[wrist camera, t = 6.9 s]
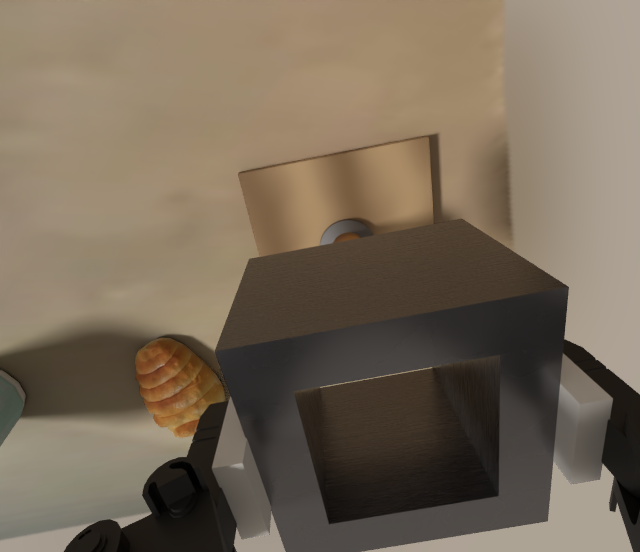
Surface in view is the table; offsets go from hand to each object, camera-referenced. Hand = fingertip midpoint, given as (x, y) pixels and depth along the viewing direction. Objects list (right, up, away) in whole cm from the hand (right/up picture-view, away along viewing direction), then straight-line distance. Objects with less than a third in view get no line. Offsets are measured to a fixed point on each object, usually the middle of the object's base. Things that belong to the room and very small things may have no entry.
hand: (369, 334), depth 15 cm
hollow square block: (0, 0, 0) cm, 0 cm away
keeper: (0, +5, +15) cm, 16 cm away
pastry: (-15, -8, +21) cm, 27 cm away
